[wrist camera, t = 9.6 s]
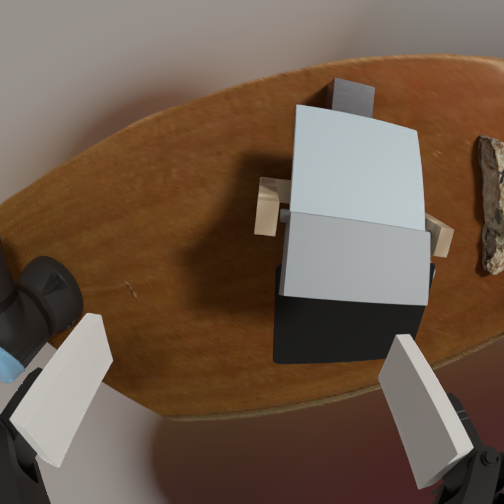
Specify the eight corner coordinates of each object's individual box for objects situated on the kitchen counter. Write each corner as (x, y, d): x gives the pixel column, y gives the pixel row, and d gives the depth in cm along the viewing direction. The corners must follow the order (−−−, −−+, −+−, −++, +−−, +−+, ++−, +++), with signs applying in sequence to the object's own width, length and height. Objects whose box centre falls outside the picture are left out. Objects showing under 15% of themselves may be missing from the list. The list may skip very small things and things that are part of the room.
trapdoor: (413, 304, 27) (433, 305, 24) (270, 293, 28) (273, 294, 24) (410, 143, 30) (426, 128, 26) (286, 118, 30) (290, 97, 26)
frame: (258, 198, 39) (253, 233, 25) (260, 176, 38) (256, 199, 24) (394, 217, 39) (447, 257, 25) (398, 197, 38) (454, 229, 24)
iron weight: (323, 119, 35) (326, 84, 33) (358, 126, 35) (362, 92, 33) (331, 117, 30) (334, 77, 28) (371, 125, 30) (374, 87, 28)
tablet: (437, 262, 41) (409, 355, 48) (435, 260, 42) (408, 353, 49) (275, 262, 42) (273, 363, 50) (275, 260, 43) (273, 361, 51)
